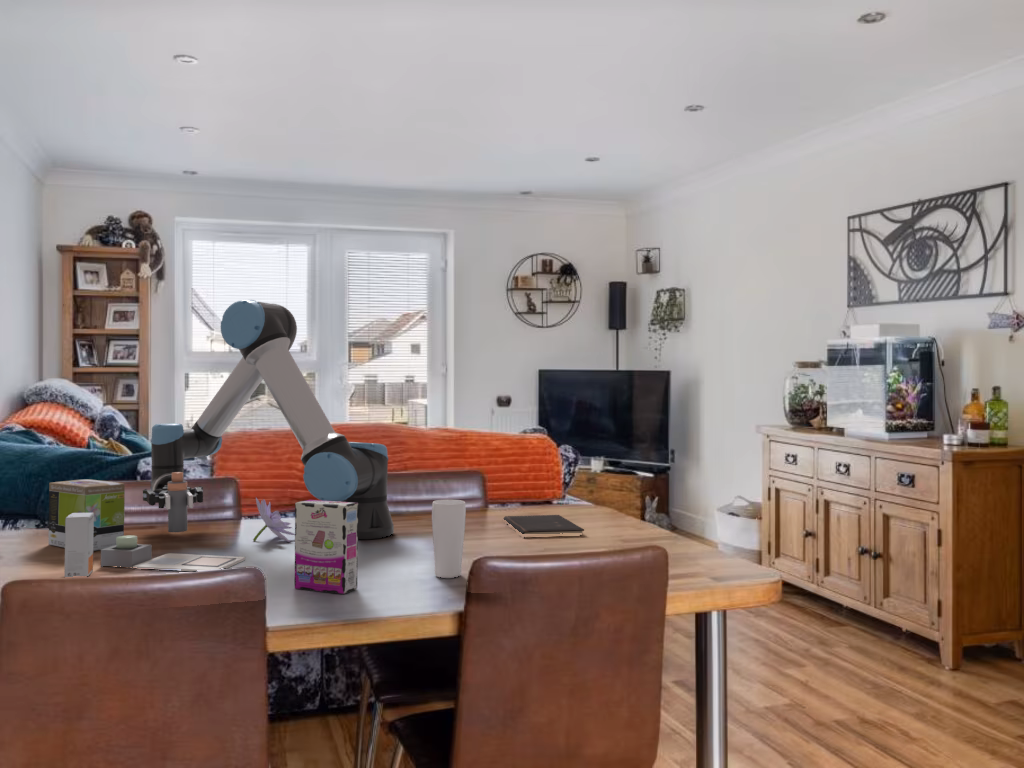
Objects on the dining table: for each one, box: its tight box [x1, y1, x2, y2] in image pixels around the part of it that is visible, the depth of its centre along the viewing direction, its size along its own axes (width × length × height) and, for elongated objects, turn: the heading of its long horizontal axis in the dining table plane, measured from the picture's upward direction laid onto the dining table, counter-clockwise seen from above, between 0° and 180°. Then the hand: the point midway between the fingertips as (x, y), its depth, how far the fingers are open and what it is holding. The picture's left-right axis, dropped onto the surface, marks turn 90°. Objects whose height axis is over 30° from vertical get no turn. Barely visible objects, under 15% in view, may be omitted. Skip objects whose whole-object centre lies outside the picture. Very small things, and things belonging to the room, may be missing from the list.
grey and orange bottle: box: [167, 472, 188, 533], centre depth 192 cm, size 4×4×13 cm
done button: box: [116, 534, 138, 549], centre depth 180 cm, size 4×4×2 cm
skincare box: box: [63, 513, 94, 577], centre depth 170 cm, size 6×4×12 cm
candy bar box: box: [294, 499, 359, 595], centre depth 162 cm, size 11×5×16 cm, turn 69°
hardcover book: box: [502, 514, 585, 534], centre depth 228 cm, size 16×23×2 cm
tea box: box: [48, 478, 126, 552], centre depth 198 cm, size 15×10×15 cm, turn 57°
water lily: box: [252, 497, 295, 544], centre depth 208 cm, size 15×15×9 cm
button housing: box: [100, 543, 153, 568], centre depth 180 cm, size 7×7×4 cm
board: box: [133, 552, 246, 571], centre depth 181 cm, size 18×13×1 cm
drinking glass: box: [431, 499, 467, 579], centre depth 174 cm, size 7×7×15 cm
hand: (179, 502), depth 188 cm, fingers closed on grey and orange bottle, 4 cm apart
